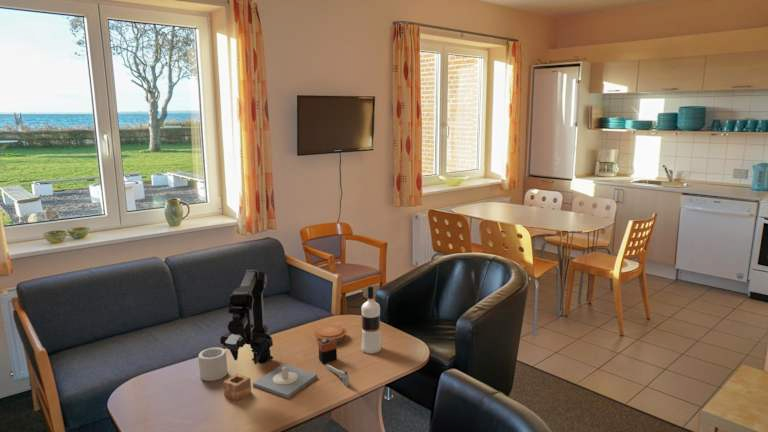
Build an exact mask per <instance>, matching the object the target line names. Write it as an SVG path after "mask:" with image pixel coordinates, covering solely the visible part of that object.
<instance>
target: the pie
mask: <svg viewBox="0 0 768 432" xmlns="http://www.w3.org/2000/svg"><path fill="white" fill-rule="evenodd" d="M346 334H347V329H346V327H345V328H344V327H342V326H339V325H335V324H328V325H322V326H320V327H318V328H317V329H315V330H314V331H313V335H314V337H315V338H316V339H317V341H318V342H319V341H321V340H322V339H329V338H333V339H334V340H335V341H336V344H338V343H340V342H341V341H342V340H343V338H344V337H345V336H346Z"/></svg>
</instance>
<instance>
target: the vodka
mask: <svg viewBox="0 0 768 432" xmlns="http://www.w3.org/2000/svg"><path fill="white" fill-rule="evenodd" d="M380 305H381V304H380V303H378V302H376V300H375V299H374V286H367V301H365V302H364V303H363V304H362V305H361V307H360V308H361V323H362V325H361V333H362V335H361V337H362V339H361V345H360V349H361V351H362V352H364V353H365V354H370V355H371V354H373V355H374V354H377V353H379V352H381V351H382V345H383V344H382V339H381V319H380V318H381V306H380Z"/></svg>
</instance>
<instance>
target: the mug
mask: <svg viewBox="0 0 768 432" xmlns="http://www.w3.org/2000/svg"><path fill="white" fill-rule="evenodd" d="M197 356H198V367H199V377H200V379H201V380H202V381H205V382H214V381H218V380H221V379H224V377H226V375H227V374H228V361H227V351H226V349H224V348H222V347H217V346H216V347H209V348H205V349H203V350H201V351H200V352H199V354H198V355H197Z"/></svg>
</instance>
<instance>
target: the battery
mask: <svg viewBox="0 0 768 432" xmlns="http://www.w3.org/2000/svg"><path fill="white" fill-rule="evenodd" d="M337 352H338V351H337V343H336V341H335V340H334V339H333V338H329V339H322V340H321V341H318V358H319V359H318V361H320V363H322V364H323V365H325V364H326V365H327V364H329V363H333V362H336V361H338V355H337V354H338V353H337Z"/></svg>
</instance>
